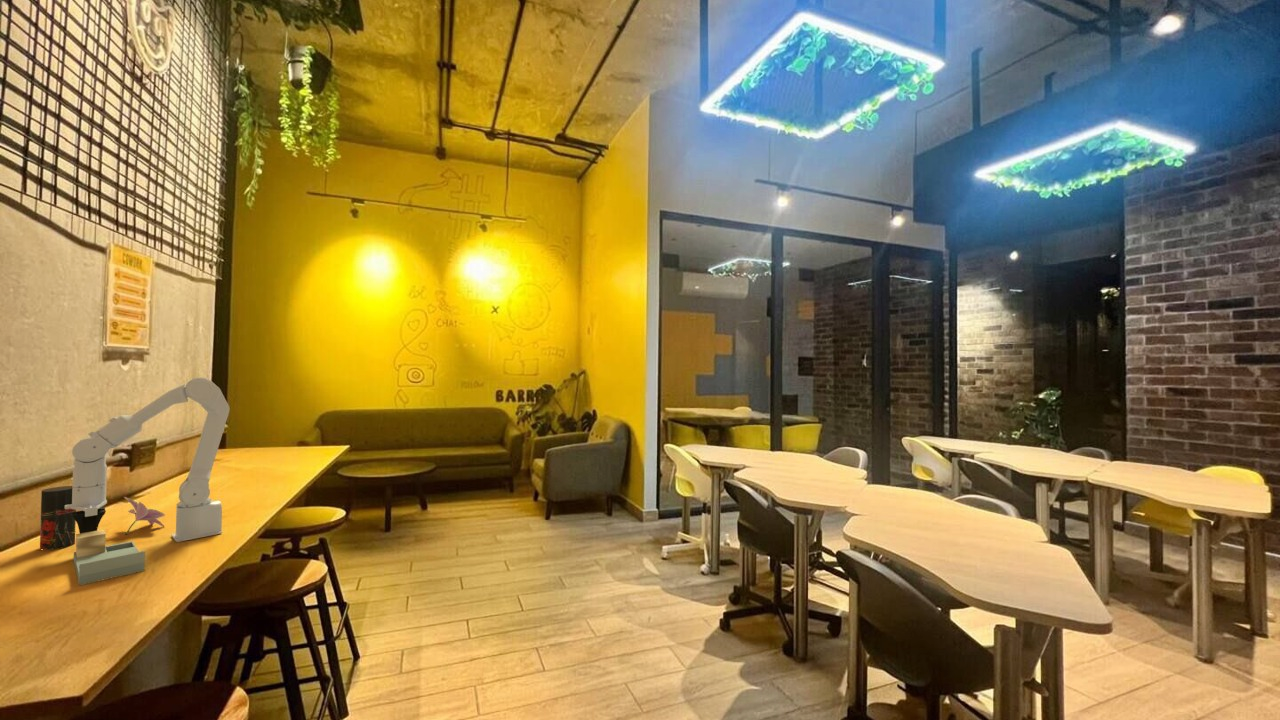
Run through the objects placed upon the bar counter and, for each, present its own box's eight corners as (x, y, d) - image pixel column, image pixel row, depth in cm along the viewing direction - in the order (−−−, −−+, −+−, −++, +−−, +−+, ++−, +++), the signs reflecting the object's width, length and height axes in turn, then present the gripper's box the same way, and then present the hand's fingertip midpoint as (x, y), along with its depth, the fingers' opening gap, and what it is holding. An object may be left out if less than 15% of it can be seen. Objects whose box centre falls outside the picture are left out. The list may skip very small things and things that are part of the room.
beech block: (103, 547, 122) (103, 529, 122) (105, 552, 119) (105, 533, 120) (75, 552, 119) (76, 534, 119) (77, 557, 116) (77, 538, 116)
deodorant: (80, 543, 130) (81, 487, 130) (47, 551, 124) (48, 492, 125) (67, 541, 132) (69, 485, 132) (34, 548, 126) (36, 490, 126)
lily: (162, 537, 139) (180, 502, 144) (106, 529, 131) (127, 493, 136) (154, 541, 146) (171, 508, 151) (100, 534, 138) (120, 499, 143)
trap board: (132, 548, 127) (132, 531, 127) (144, 570, 114) (145, 551, 114) (73, 560, 119) (73, 541, 119) (79, 585, 106) (79, 564, 106)
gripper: (63, 483, 125) (62, 536, 125) (66, 493, 116) (64, 550, 116) (104, 478, 131) (102, 529, 130) (110, 487, 122) (108, 542, 121)
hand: (87, 539), depth 124 cm, fingers closed
